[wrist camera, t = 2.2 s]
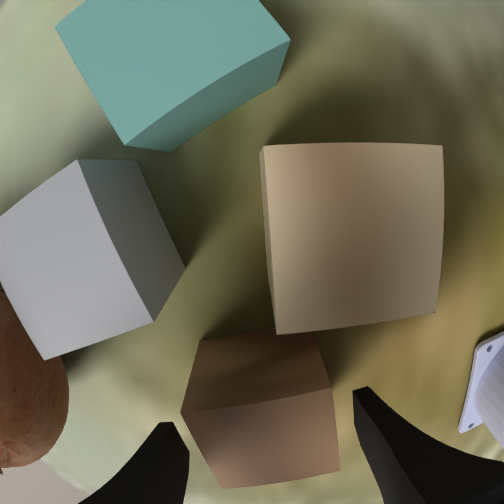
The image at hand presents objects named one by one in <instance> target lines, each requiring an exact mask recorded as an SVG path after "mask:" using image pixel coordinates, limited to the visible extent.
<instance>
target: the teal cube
mask: <svg viewBox="0 0 504 504" xmlns="http://www.w3.org/2000/svg"><path fill="white" fill-rule="evenodd" d="M55 29H56V31H57V32H58V34H59V36H60V38H61V40H62V41H63V43H64V45H65V47H66V49H67V50H68V52H69V54H70V56H71V57H72V59H73V61H74V63H75V64H76V66H77V68H78V70H79V71H80V73H81V75H82V76H83V78H84V80H85V82H86V83H87V85H88V87H89V88H90V90H91V92H92V93H93V95H94V97H95V98H96V100H97V102H98V103H99V105H100V107H101V108H102V110H103V112H104V113H105V115H106V116H107V118H108V120H109V121H110V123H111V125H112V126H113V128H114V129H115V131H116V133H117V134H118V136H119V137H120V139H121V141H122V142H123V144H124V145H126V146H133V147H140V148H147V149H153V150H159V151H166V152H171V151H173V150H174V149H176V148H177V147H178V146H180V145H181V144H183V143H184V142H186V141H187V140H189V139H190V138H191V137H193V136H194V135H196V134H197V133H199V132H200V131H202V130H203V129H205V128H206V127H208V126H209V125H211V124H212V123H214V122H216V121H217V120H219V119H220V118H222V117H223V116H225V115H226V114H228V113H230V112H231V111H233V110H235V109H236V108H238V107H239V106H241V105H243V104H244V103H246V102H248V101H249V100H251V99H253V98H254V97H256V96H258V95H260V94H261V93H263V92H265V91H267V90H268V89H270V88H272V87H274V86H275V85H276V84H277V81H278V78H279V74H280V71H281V68H282V65H283V62H284V59H285V56H286V53H287V49H288V46H289V43H290V40H291V39H290V38H289V37H288V35H287V34H286V33H285V32H284V30H283V29H282V28H281V27H280V25H279V24H278V23H277V22H276V20H275V19H274V18H273V17H272V16H271V14H270V13H269V12H268V11H267V10H266V9H265V7H264V6H263V5H262V4H261V3H260V2H259V0H86V1H85V2H83V3H82V4H81V5H80V6H78V7H77V8H76V9H75V10H73V11H72V12H71V13H70V14H69V15H67V16H66V17H65V18H64V19H63V20H62V21H60V22H59V23H58V24H57V25H56V26H55Z"/></svg>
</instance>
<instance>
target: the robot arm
mask: <svg viewBox="0 0 504 504" xmlns="http://www.w3.org/2000/svg"><path fill="white" fill-rule="evenodd" d="M353 408H354V425H355V428H356V432H357V435H358V438H359V442H360V445H361V447H362V450H363V452H364V454H365V456H366V459H367V461H368V463H369V465H370V468H371V470H372V472H373V474H374V477H375V479H376V481H377V483H378V486H379V488H380V491H381V494H382V497H383V501H384V504H504V463H503V462H502V461H497V460H491V459H487V458H482V457H478V456H475V455H471V454H468V453H465V452H463V451H460V450H458V449H455V448H453V447H450V446H448V445H446V444H444V443H442V442H440V441H438V440H436V439H434V438H432V437H431V436H429V435H427V434H425V433H424V432H422V431H421V430H419V429H418V428H416V427H415V426H413V425H412V424H410V423H409V422H408V421H406V420H405V419H404V418H403V417H401V416H400V415H399V414H398V413H396V412H395V411H394V410H393V409H392V408H390V407H389V406H388V405H387V404H386V403H385V402H384V401H383V400H382V399H381V398H380V397H379V396H378V395H377V394H376V393H375V392H374V391H373V390H372V389H371V388H370V387H368V386H366V387H363V388H360V389H356V390H353ZM483 422H484V424H485V425H486V426H487V428H488V429H489V430H490V432H491V433H492V434H493V436H494V437H495V439H496V440H497V441H498V443H499V444H500V445H501V447H502V448H503V450H504V331H503V332H501V333H499V334H497V335H495V336H493V337H491V338H488V339H486V340H484V341H482V342H480V343H479V344H478V345H477V347H476V349H475V353H474V360H473V365H472V371H471V376H470V381H469V386H468V391H467V395H466V399H465V404H464V408H463V412H462V415H461V419H460V423H459V426H458V430H459V432H460V433H464V432H466V431H468V430H470V429H472V428H474V427H476V426H478V425H480V424H481V423H483ZM189 454H190V452H189V450H188V449H187V447H186V445H185V443H184V442H183V440H182V438H181V436H180V434H179V433H178V431H177V429H176V427H175V425H174V423H173V422H160V423H159V424H158V425H157V426H156V427H155V429H154V430H153V431H152V432H151V434H150V435H149V436H148V438H147V439H146V440H145V441H144V443H143V444H142V445H141V446H140V448H139V449H138V450H137V451H136V453H135V454H134V455H133V456H132V457H131V459H130V460H129V461H128V462H127V463H126V464H125V465H124V466H123V467H122V468H121V470H120V471H119V472H118V473H117V474H116V475H115V476H114V477H113V478H111V479H110V480H109V481H108V482H107V483H106V484H105V485H103V486H102V487H101V488H100V489H99V490H97V491H96V492H94V493H93V494H92V495H90V496H89V497H87V498H86V499H84V500H83V501H81V502H80V503H78V504H183V501H184V496H185V491H186V485H187V480H188V474H189Z"/></svg>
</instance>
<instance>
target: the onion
mask: <svg viewBox="0 0 504 504" xmlns="http://www.w3.org/2000/svg"><path fill="white" fill-rule="evenodd" d="M68 404H69V386H68V379H67V375H66V371H65V368H64V364H63V361H62V358H61V356H60V355H59V356H56V357H53V358H50V359H47V360H44V359H43V358H42V356H41V355H40V353H39V351H38V350H37V348H36V347H35V345H34V343H33V342H32V340H31V338H30V337H29V335H28V333H27V332H26V330H25V328H24V326H23V325H22V323H21V321H20V319H19V317H18V316H17V314H16V312H15V310H14V308H13V306H12V304H11V302H10V300H9V298H8V297H7V295H6V292H4V291H1V290H0V474H1V473H3V472H2V470H1V468H8V467H19V466H25V465H28V464H31V463H33V462H35V461H36V460H38V459H40V458H41V457H43V456H44V455H45V454H47V453H48V452H49V451H50V449H51V448H52V447H53V446H54V444H55V443H56V441H57V440H58V438H59V436H60V434H61V433H62V431H63V428H64V425H65V423H66V419H67V414H68ZM2 475H3V474H2Z"/></svg>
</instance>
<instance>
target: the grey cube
mask: <svg viewBox="0 0 504 504" xmlns="http://www.w3.org/2000/svg"><path fill="white" fill-rule="evenodd" d="M185 270H186V268H185V266H184V264H183V262H182V260H181V258H180V256H179V253H178V251H177V249H176V247H175V245H174V243H173V241H172V239H171V237H170V234H169V232H168V230H167V228H166V226H165V224H164V221H163V219H162V217H161V215H160V213H159V210H158V208H157V206H156V204H155V202H154V199H153V197H152V195H151V192H150V190H149V188H148V186H147V183H146V181H145V179H144V176H143V174H142V172H141V169H140V167H139V165H138V162H137V160H109V159H77V160H75V161H74V162H72V163H71V164H69V165H68V166H66V167H65V168H63V169H62V170H60V171H59V172H58V173H56V174H55V175H53V176H52V177H51V178H49V179H48V180H46V181H45V182H44V183H42V184H41V185H40V186H38V187H37V188H36V189H34V190H33V191H32V192H30V193H29V194H28V195H26V196H25V197H24V198H22V199H21V200H20V201H19V202H17V203H16V204H15V205H14V206H12V207H11V208H10V209H9V210H8V211H6V212H5V213H4V214H3V215H2V216H0V282H1V284H2V286H3V288H4V290H5V292H6V295H7V297H8V298H9V300H10V302H11V304H12V306H13V308H14V310H15V312H16V314H17V316H18V317H19V319H20V321H21V323H22V325H23V326H24V328H25V330H26V332H27V333H28V335H29V337H30V338H31V340H32V342H33V343H34V345H35V347H36V348H37V350H38V351H39V353H40V355H41V356H42V358H43V359H44V360H47V359H50V358H53V357H56V356H59V355H62V354H65V353H68V352H71V351H74V350H77V349H80V348H83V347H85V346H88V345H91V344H94V343H97V342H100V341H103V340H105V339H108V338H111V337H114V336H117V335H120V334H122V333H125V332H128V331H131V330H133V329H136V328H139V327H142V326H144V325H147V324H150V323H153V322H154V321H155V319H156V318H157V316H158V314H159V313H160V311H161V309H162V308H163V306H164V304H165V302H166V301H167V299H168V297H169V296H170V294H171V292H172V291H173V289H174V288H175V286H176V284H177V283H178V281H179V279H180V278H181V276H182V274H183V273H184V271H185Z"/></svg>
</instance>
